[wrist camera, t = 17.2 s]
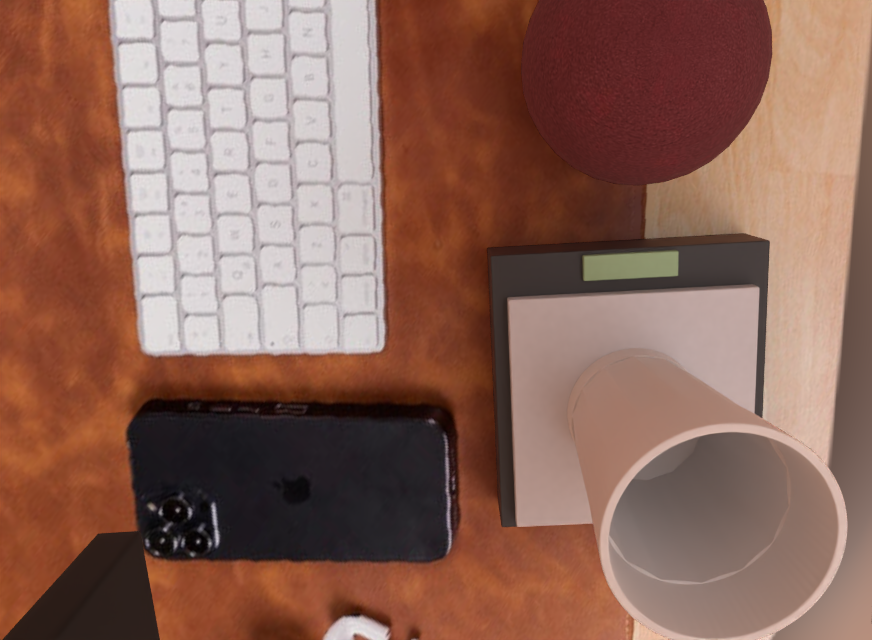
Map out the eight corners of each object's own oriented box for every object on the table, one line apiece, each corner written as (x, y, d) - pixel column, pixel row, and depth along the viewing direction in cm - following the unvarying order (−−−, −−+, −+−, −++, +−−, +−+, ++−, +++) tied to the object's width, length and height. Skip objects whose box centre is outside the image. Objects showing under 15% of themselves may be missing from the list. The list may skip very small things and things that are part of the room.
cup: (620, 519, 37) (700, 689, 26) (515, 405, 36) (549, 530, 24) (750, 418, 36) (897, 549, 24) (647, 296, 35) (748, 372, 23)
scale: (745, 233, 38) (777, 242, 34) (736, 489, 41) (765, 523, 37) (487, 247, 38) (491, 258, 34) (497, 500, 41) (502, 535, 38)
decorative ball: (703, -61, 35) (802, -142, 25) (733, 154, 37) (835, 157, 27) (491, -8, 35) (508, -68, 26) (533, 200, 38) (563, 219, 28)
